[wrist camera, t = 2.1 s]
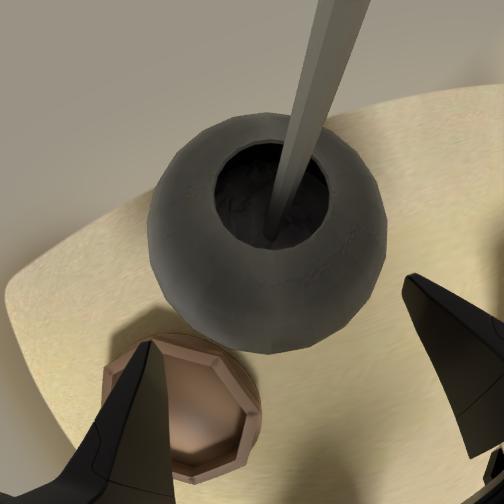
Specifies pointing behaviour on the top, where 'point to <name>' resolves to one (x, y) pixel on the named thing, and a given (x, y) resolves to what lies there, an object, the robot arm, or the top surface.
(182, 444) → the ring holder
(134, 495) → the robot arm
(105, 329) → the top surface
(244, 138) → the beverage cup
